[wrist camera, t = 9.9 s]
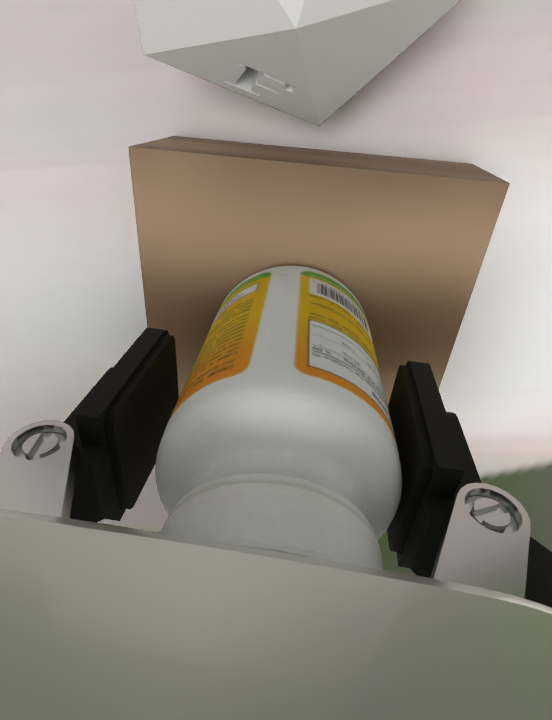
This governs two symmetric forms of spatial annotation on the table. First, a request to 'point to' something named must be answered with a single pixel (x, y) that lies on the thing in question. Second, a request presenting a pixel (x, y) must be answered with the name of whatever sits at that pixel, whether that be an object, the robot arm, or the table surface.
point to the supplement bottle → (284, 426)
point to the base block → (312, 237)
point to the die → (285, 45)
